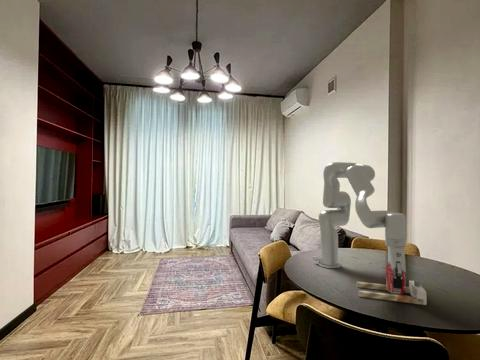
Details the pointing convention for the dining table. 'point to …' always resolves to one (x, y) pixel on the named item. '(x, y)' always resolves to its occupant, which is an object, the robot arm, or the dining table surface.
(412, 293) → the connector block
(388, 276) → the soda can
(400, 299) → the guide channel
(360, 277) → the dining table surface
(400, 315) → the dining table surface
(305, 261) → the dining table surface
